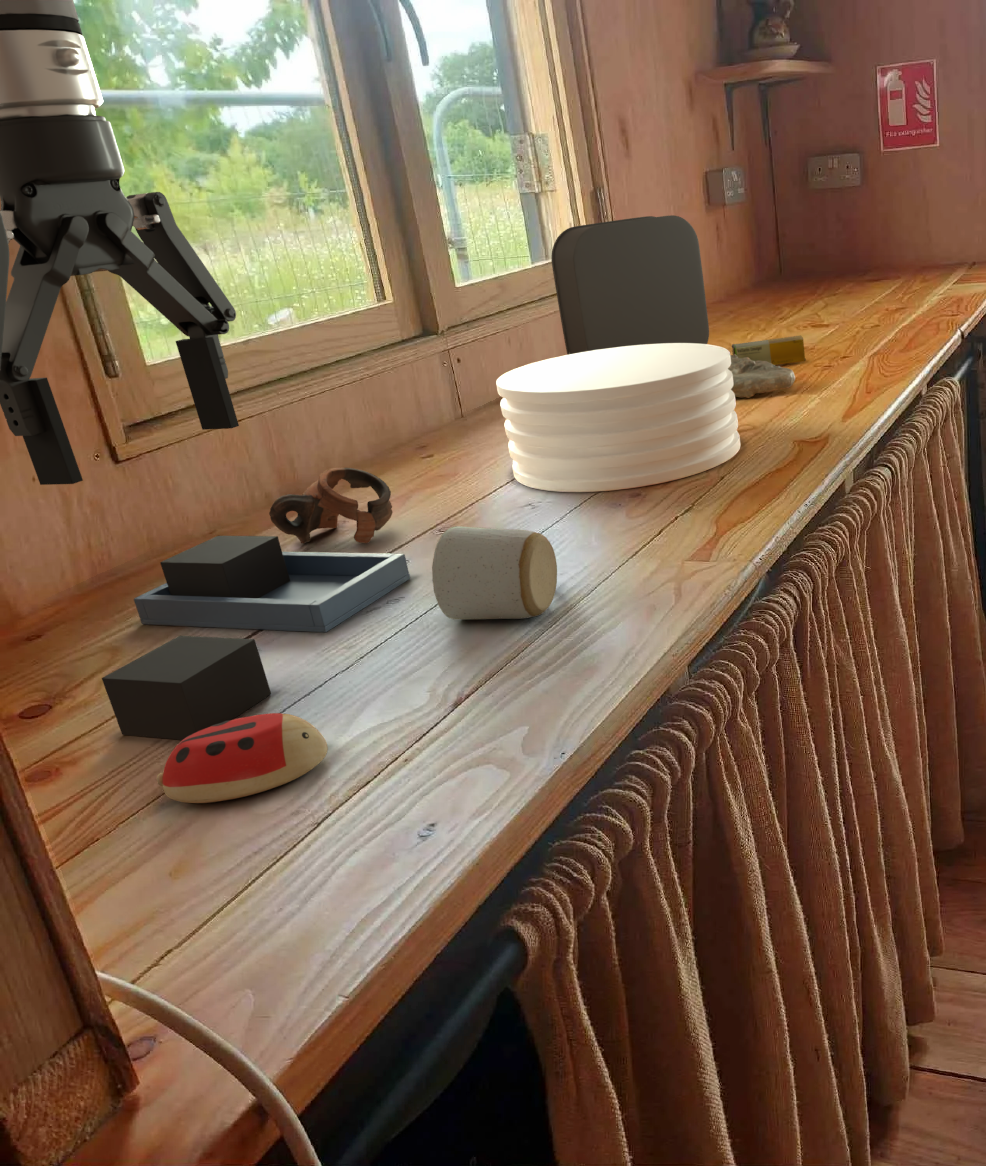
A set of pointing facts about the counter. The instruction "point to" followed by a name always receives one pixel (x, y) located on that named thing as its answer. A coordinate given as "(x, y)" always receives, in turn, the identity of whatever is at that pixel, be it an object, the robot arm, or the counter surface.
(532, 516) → the counter surface
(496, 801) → the counter surface
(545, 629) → the counter surface
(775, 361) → the medication box
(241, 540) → the seated pad
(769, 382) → the elongated rock
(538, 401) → the plate stack
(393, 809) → the counter surface
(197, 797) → the ladybug figurine
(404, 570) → the pad tray
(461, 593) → the ceramic mug
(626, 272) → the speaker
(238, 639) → the loose pad
